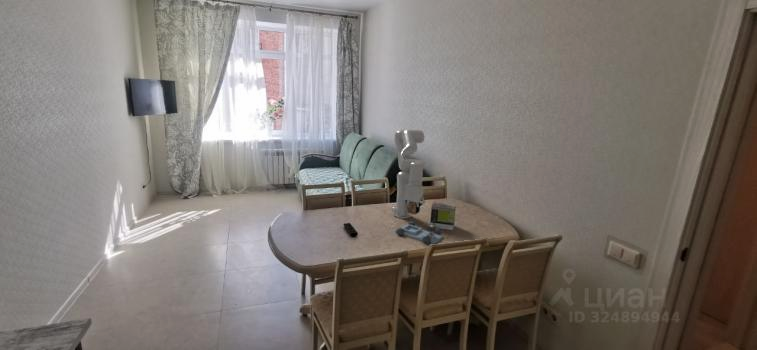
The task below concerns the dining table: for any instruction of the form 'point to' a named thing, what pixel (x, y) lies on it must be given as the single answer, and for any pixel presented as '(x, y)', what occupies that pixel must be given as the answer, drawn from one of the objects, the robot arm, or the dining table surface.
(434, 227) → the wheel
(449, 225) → the retro computer monitor
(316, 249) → the dining table surface
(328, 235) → the dining table surface
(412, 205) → the engine block
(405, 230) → the chassis
